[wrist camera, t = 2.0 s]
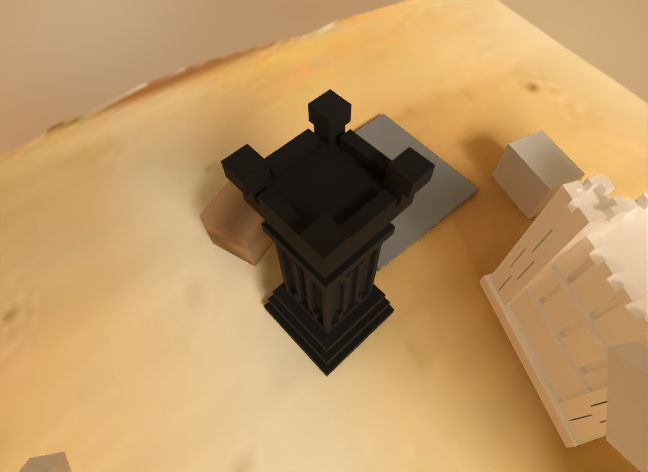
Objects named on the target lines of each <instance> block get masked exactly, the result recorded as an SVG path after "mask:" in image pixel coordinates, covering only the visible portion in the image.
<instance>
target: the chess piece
mask: <svg viewBox="0 0 648 472" xmlns="http://www.w3.org/2000/svg"><path fill="white" fill-rule="evenodd" d="M308 112H309V121H310V122H311V123H312V124H314V132H312V131H311V130H310V129H307V130H306V131H304V132H303V133H301V134H300V135H298V136H297V137H295V138H294V139H292V140H291V141H289V142H288V143H287V144H285V145H284V146H282V147H281V148H279V149H278V150H276V151H275V152H273V153H272V154H270V155H269V156H268V157H266V158H265V159H264V158H263V157H262V156H261V155H259V154H258V153H257V152H256V151H255V150H254V149H253V148H252V147H250V146H249V145H248V144H246V145H245V146H243V147H242V148H240V149H239V150H237V151H236V152H234V153H233V154H231V155H230V156H228V157H227V158H225V159H224V160H222V161H221V163H222V166H223V169H224V172H225V175H226V177H227V178H228V179H229V180H230V181H231V182H232V183H233V184H234V185H235V186H236V187H237V188H238V189H239V190H240V191H241V192H242V194H243V197H244V200H245V201H246V202H247V203H248V204H249V205H250V206H251V207H252V208H253V209H254V210H255V211H256V212H257V213H258V214H259V215H260V216H261V217H262V218H263V219H264V220H265V221H264V222H263V223H261V225H262V229H263V231H264V232H265V233H266V234H267V235H268V236H269V237H270V238H271V239H272V240H273V241H274V242H275V245H276V249H277V253H278V258H279V262H280V266H281V271H282V275H283V279H284V283H282V284H281V285H280V286H279V287H278V288H276V289H275V290H274V291H273V295H272V296H271V297H270V298H269V299H268V300H269V302H268V303H267V304H265V305H264V307H265V309H266V310H267V311H268V312H269V314H270V315H271V316H272V317H273V318H274V319H275V320H276V321H277V322H278V323H279V325H280V326H281V327H282V328H283V329H284V330H285V331H286V332H287V333H288V334H289V336H290V337H291V338H292V339H293V340H294V341H295V342H296V343H297V344H298V345H299V347H300V348H301V349H302V350H303V351H304V352H305V353H306V354H307V355H308V356H309V357H310V359H311V360H312V361H313V362H314V363H315V364H316V365H317V366H318V367H319V368H320V370H321V371H322V372H323V373H324V374H325V375H326V376H328V375H329V374H330V373H331V372H332V371H333V370H334V369H335V368H336V367H337V366H338V365H339V364H340V363H341V362H342V361H343V360H344V359H345V358H346V357H348V356H349V355H350V354H351V353H352V352H353V351H354V350H355V349H356V348H357V347H358V346H359V345H360V344H361V343H362V342H363V341H364V340H365V339H366V338H367V337H368V336H369V335H370V334H371V333H372V332H373V331H374V330H375V329H376V328H377V327H378V326H379V325H380V324H382V323H383V322H384V321H385V320H386V319H387V318H388V317H389V316H390V315H391V314H392V313H393V311H394V309H393V308H392V307H391V306H390V305H389V303H390V302H389V301H388V300H387V299H386V298H385V294H384V293H383V292H382V291H381V290H380V289H378V288H377V287H376V286H375V285H374V284H373V283H374V278H375V274H376V269H377V265H378V260H379V255H380V251H381V246H382V243H384V242H385V241H386V240H387V239H388V238H389V237H390V236H392V235H393V234H394V230H395V226H394V225H393V224H392V223H390V222H391V221H392V220H394V219H395V218H396V217H397V216H398V215H399V214H400V213H402V212H403V211H404V210H405V209H406V208H407V207H409V206H410V205H411V204H412V202H413V198H414V195H415V193H417V192H418V191H419V190H420V189H421V188H422V187H424V186H425V185H426V184H427V183H428V182H429V181H430V180H431V177H432V174H433V171H434V168H435V164H433V163H432V162H430V161H429V160H428V159H426V158H425V157H424V156H422V155H421V154H419V153H418V152H417V151H415V150H414V149H412V148H411V147H408V148H407V149H406V150H405V151H403V152H402V153H401V154H400V155H398V156H397V157H396V158H394V159H393V160H391V159H389V158H388V157H387V156H385V155H384V154H383V153H381V152H380V151H379V150H377V149H376V148H375V147H373V146H372V145H371V144H369V143H368V142H367V141H366V140H364V139H363V138H362V137H360V136H359V135H358V134H356V133H355V132H354V131H352V130H351V129H350V130H348V131H347V132H346V133H345V125H346V124H348V123H349V122H350V120H351V104H350V103H349V102H347V101H346V100H344V99H343V98H342V97H340V96H339V95H338V94H336V93H335V92H333V91H332V90H331V89H330V90H328V91H327V92H325V93H324V94H322V95H321V96H319V97H318V98H316V99H315V100H313V101H312V102H310V103H309V104H308Z"/></svg>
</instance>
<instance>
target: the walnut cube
mask: <svg viewBox="0 0 648 472" xmlns="http://www.w3.org/2000/svg"><path fill="white" fill-rule="evenodd" d="M199 216H200V218H201V220H202V222H203V224H204V226H205V228H206V230H207V232H208V234H209V236H210V238H211V240H212V242H213V244H215V245H217V246H219V247H221V248H223V249H224V250H226V251H228V252H230V253H232V254H233V255H235V256H237V257H239V258H241V259H243V260H244V261H246V262H248V263H250V264H252V265H254V266H256V265H257V263H258V262H259V260H260V259H261V258H262V256H263V255H264V254H265V252H266V251H267V250H268V248H269V247H270V246H271V244H272V243H273V240H272V239H271V238H270V237H269V236H268V235H267V234H266V233H265V232H264V231H263V229H262V225H261V223H263V222H264V221H265V220H264V219H263V218H262V217H261V216H260V215H259V214H258V213H257V212H256V211H255V210H254V209H253V208H252V207H251V206H250V205H249V204H248V203H247V202H246V201H245V200H244V197H243V194H242V192H241V191H240V190H239V189H238V188H237V187H236V186H235V185H234V184H233V183H232V182H231V181H229V182H228V183H227V184H226V185H225V187H224V188H223V189H222V190H221V191H220V192H219V194H218V195H217V196H216V197H215V198H214V199H213V200H212V202H211V203H210V204H209V205H208V206H207V207H206V209H205V210H204V211H203V212H202V213H201V214H200V215H199Z"/></svg>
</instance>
